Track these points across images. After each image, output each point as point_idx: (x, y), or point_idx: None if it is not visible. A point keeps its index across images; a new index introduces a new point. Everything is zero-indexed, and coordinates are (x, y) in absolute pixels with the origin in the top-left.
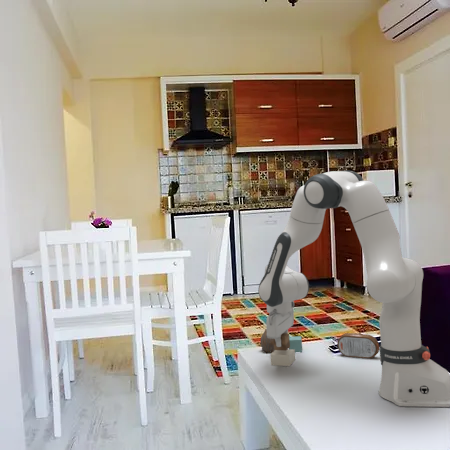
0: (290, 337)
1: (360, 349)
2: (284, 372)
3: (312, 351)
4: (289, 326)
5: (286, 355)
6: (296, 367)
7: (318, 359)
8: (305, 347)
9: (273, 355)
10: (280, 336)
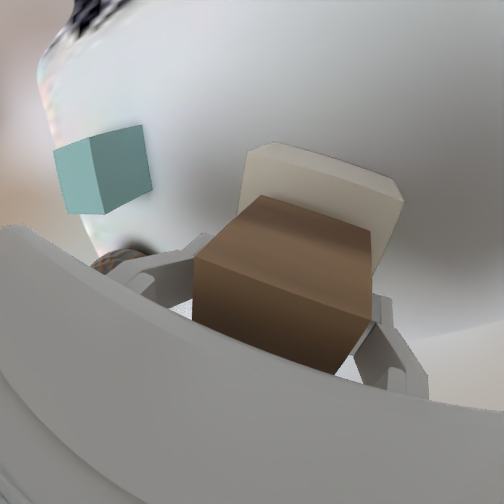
0: (71, 204)
1: None
2: (481, 217)
3: (129, 77)
4: (76, 275)
5: (396, 219)
6: (416, 138)
7: (257, 10)
8: (89, 126)
9: None
10: (401, 380)
